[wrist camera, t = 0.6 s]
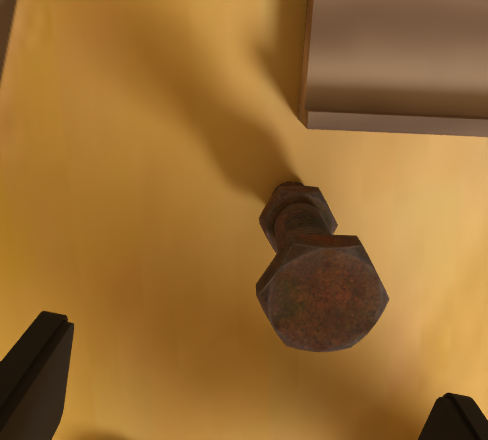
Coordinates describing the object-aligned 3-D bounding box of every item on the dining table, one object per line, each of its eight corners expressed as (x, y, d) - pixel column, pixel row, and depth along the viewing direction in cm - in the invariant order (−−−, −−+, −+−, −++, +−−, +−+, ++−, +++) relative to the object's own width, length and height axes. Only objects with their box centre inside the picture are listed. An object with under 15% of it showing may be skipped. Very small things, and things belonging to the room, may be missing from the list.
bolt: (250, 232, 34) (254, 350, 20) (252, 166, 33) (258, 246, 19) (327, 234, 34) (385, 354, 20) (333, 168, 33) (400, 249, 19)
